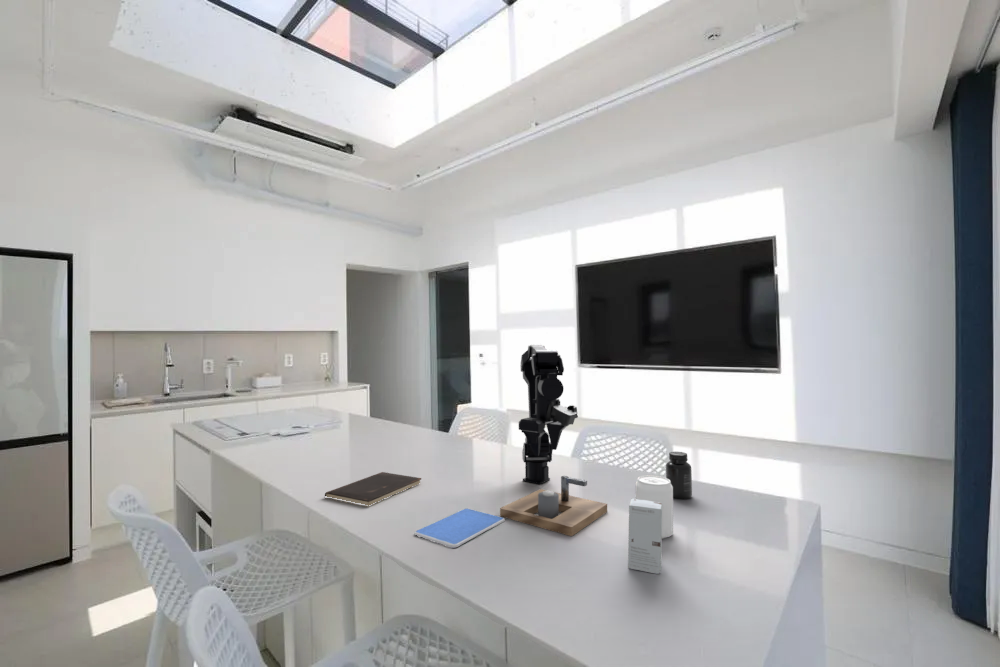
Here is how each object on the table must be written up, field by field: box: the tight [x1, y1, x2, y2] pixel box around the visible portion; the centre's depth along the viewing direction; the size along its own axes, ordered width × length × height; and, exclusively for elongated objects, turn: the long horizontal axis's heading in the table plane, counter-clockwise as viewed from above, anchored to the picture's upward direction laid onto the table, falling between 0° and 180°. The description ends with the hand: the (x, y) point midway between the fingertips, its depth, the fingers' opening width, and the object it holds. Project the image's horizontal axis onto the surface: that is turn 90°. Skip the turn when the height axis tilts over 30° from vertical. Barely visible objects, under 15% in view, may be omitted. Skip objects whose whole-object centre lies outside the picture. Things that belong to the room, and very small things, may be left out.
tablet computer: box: [413, 508, 506, 549], centre depth 108 cm, size 19×13×1 cm, turn 145°
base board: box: [499, 488, 608, 537], centre depth 116 cm, size 20×19×2 cm
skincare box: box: [627, 498, 663, 575], centre depth 89 cm, size 6×4×12 cm
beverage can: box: [634, 474, 674, 539], centre depth 105 cm, size 8×8×12 cm
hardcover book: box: [324, 471, 422, 507], centre depth 135 cm, size 16×23×2 cm
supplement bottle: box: [665, 451, 693, 500], centre depth 131 cm, size 7×7×12 cm
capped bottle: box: [537, 490, 560, 519], centre depth 114 cm, size 5×5×6 cm
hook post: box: [560, 475, 588, 501], centre depth 119 cm, size 7×2×6 cm, turn 53°
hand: (545, 452), depth 127 cm, fingers open, 9 cm apart
